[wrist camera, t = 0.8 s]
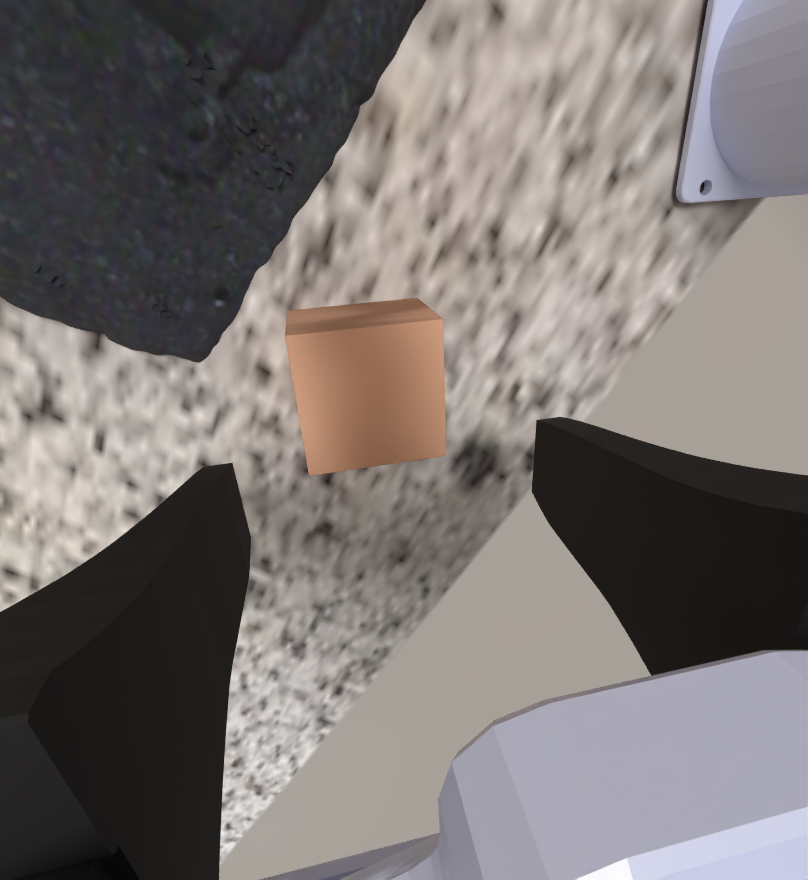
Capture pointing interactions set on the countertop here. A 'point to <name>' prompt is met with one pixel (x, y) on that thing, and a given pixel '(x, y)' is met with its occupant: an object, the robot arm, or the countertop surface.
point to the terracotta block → (368, 383)
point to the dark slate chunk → (170, 150)
